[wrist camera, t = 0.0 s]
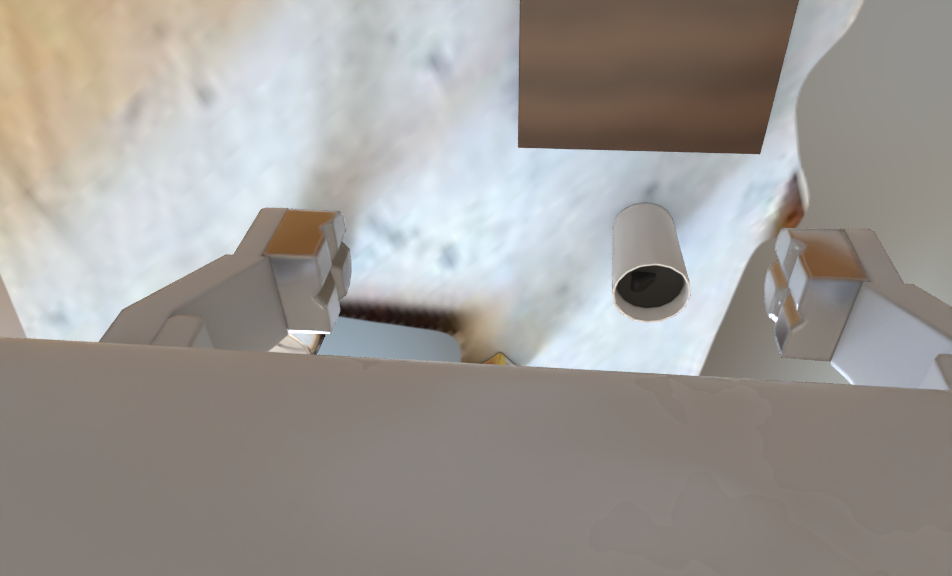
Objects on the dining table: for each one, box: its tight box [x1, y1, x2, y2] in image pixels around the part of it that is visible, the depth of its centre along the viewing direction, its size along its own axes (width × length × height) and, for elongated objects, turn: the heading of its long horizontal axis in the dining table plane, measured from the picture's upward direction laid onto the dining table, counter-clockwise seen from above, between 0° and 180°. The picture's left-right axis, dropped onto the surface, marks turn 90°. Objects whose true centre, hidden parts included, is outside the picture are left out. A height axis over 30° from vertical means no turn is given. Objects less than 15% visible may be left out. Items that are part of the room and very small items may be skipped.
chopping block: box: [518, 0, 799, 154], centre depth 58 cm, size 13×20×4 cm, turn 92°
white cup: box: [612, 203, 691, 323], centre depth 66 cm, size 7×7×10 cm
